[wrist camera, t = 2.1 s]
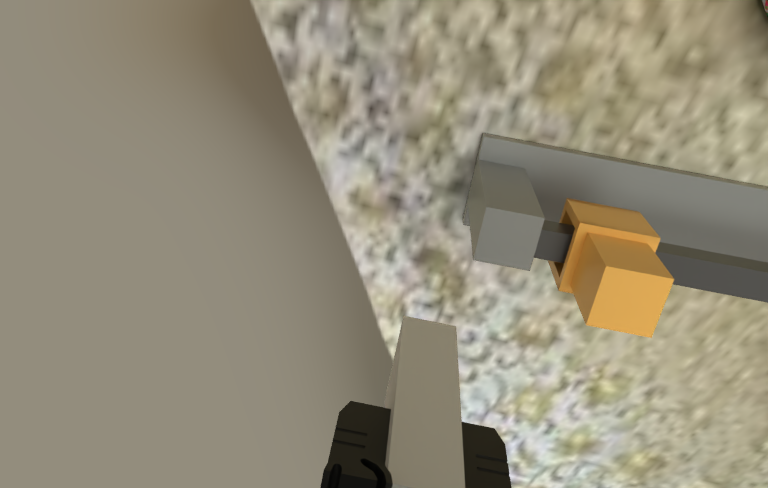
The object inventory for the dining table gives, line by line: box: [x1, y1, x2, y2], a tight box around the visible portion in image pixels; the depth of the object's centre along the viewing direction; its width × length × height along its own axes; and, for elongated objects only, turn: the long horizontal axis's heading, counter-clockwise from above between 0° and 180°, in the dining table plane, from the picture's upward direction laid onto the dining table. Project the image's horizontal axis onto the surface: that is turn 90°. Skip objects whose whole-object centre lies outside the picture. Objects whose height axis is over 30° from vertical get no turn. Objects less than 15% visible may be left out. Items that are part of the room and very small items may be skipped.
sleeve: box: [548, 198, 674, 338], centre depth 32 cm, size 4×4×8 cm
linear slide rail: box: [463, 133, 768, 302], centre depth 37 cm, size 6×29×11 cm, turn 80°
